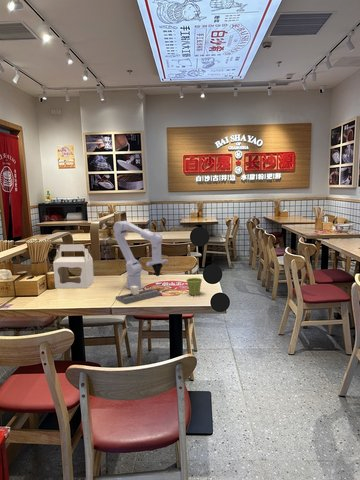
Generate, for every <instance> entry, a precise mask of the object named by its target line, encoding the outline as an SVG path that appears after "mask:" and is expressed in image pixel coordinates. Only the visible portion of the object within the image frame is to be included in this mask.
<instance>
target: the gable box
mask: <svg viewBox="0 0 360 480" xmlns="http://www.w3.org/2000/svg"><path fill="white" fill-rule="evenodd" d="M62 252H63V253H64V252H83V254H84V256H62ZM93 259H94V258H93V257H92V256H91V253H90V252H89V248H86V245H85V244H82V243H77V244H76V243H74V244H69V243H67V244H60V246H59V248H58V249H56V254H55V257H54V259H53V261H52V263H53V264H52V266H53V277H54V278H53V279H54V280H53V281H54V288H55V289H88V288H90V286H92V285H93V284H94V283H95V279H94V276H95V275H94V264H93V263H94V262H93V261H94V260H93ZM68 268H73V269H74V268H80V269H81V273H80V276H77V277H72V278H71V277H70V276H69V274H70V273H69V269H68Z"/></svg>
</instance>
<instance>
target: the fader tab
mask: <svg viewBox="0 0 360 480" xmlns="http://www.w3.org/2000/svg"><path fill="white" fill-rule="evenodd" d="M129 290H130V293H132V295H133V296H134V295H138V294H139V291H140V289H139V287H138V286H135V285H134V286H130V289H129Z"/></svg>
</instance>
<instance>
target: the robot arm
mask: <svg viewBox="0 0 360 480" xmlns="http://www.w3.org/2000/svg"><path fill="white" fill-rule="evenodd" d="M112 229H113V232H114V238H115V240H116V243H117V245H118V247H119V249H120V251H121V253H122V255H123V258H124V259H125V262H126V264H125V268H126V273H127V274H128V275H127V277H126V286H125V287H126V288H127V289H128V290H130V286H134V285H135V286H138V287H139V290H141V289H144V288H145V287H143V286H142V282H141V281H142V279H141V278H142V277H141V274H142V273H141V272H142V271H143V265H142V264H141V263H140V262H139V260H138V259H137V258H135V256H134V255H133V252H132V250H131V247H130V246H129V244H128V242H127V240H126V237H125V236H126V233H127V232H128V231H131V232H134V233H136V234H138V235H140V238H142V239H144V240H146V241H148V242H150V244H151V261H147V262H146V263H145V265H146V267H149V266H151V267H152V269H153V271H154V274H155V277H160V274H161V270H162V268H163V264H167V263H168V261H169V260H168V259H167V258H166V259H162V242H163V237H162V235H161V234H160V233H156V232H152V231H151V230H150V229H149V228H144V229H143V228H140V227H139V226H137V225H136V224H134V223H132V222H131V221H128V220H121V221H116V222H114V224H113V227H112Z"/></svg>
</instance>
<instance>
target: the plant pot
mask: <svg viewBox="0 0 360 480" xmlns="http://www.w3.org/2000/svg"><path fill="white" fill-rule="evenodd" d="M185 281H186V283H187V286H188V294H189V295H190V296H198V295H200V294H201V286H202V281H203V279H202V278H200V277H191V278H187V279H186V280H185Z"/></svg>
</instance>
